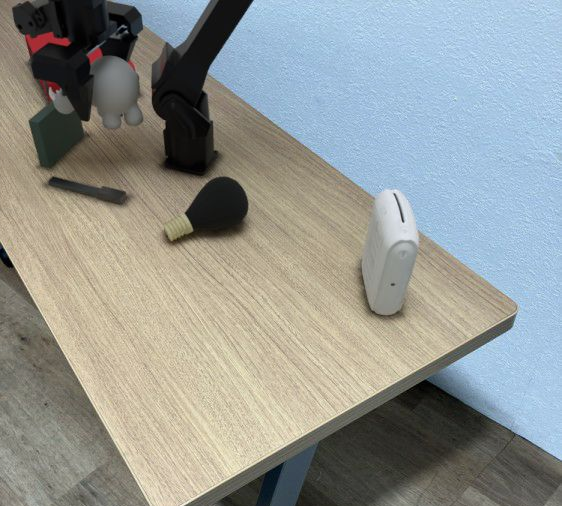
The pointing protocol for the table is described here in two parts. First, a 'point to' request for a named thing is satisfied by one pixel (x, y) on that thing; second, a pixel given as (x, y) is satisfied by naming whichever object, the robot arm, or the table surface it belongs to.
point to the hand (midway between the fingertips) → (101, 105)
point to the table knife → (90, 190)
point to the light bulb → (211, 209)
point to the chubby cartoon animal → (109, 93)
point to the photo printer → (389, 252)
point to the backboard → (54, 133)
